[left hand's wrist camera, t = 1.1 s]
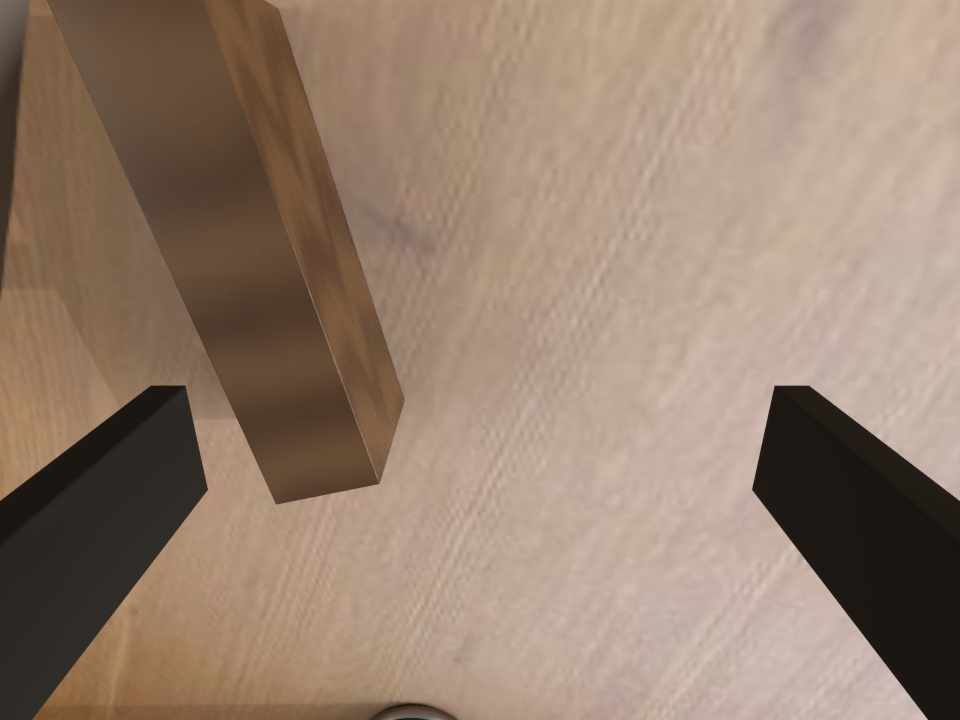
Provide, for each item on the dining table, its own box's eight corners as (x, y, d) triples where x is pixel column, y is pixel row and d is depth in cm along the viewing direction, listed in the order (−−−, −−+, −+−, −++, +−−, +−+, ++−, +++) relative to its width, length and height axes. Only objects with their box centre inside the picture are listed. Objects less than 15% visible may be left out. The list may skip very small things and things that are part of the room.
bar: (176, 37, 28) (44, -3, 20) (278, 7, 28) (187, -46, 19) (324, 417, 36) (275, 505, 28) (404, 400, 36) (379, 484, 27)
